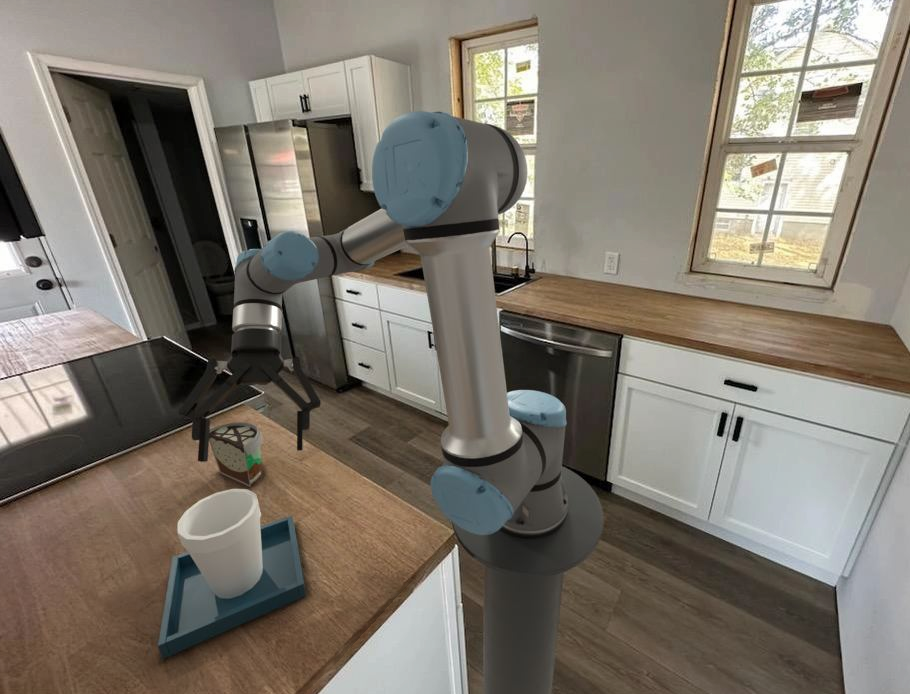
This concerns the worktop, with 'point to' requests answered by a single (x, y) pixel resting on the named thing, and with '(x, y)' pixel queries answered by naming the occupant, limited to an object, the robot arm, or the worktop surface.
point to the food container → (238, 451)
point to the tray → (206, 615)
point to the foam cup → (225, 540)
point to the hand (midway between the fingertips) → (253, 455)
